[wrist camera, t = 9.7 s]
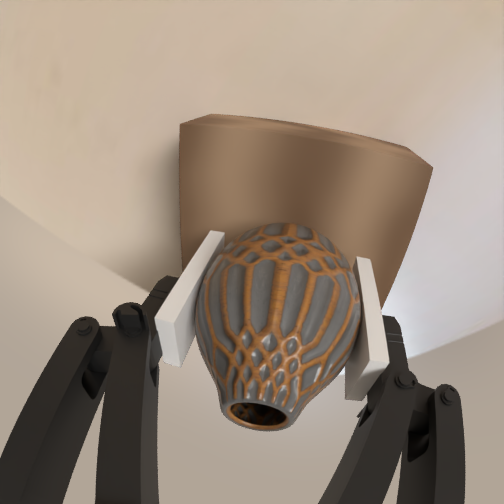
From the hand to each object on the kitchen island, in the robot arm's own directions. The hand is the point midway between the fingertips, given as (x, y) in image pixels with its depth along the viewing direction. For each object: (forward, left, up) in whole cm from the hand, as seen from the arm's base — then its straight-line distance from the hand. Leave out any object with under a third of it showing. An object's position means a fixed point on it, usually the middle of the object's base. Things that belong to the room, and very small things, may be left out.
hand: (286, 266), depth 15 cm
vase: (0, 0, 0) cm, 0 cm away
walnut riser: (0, 0, -6) cm, 6 cm away
